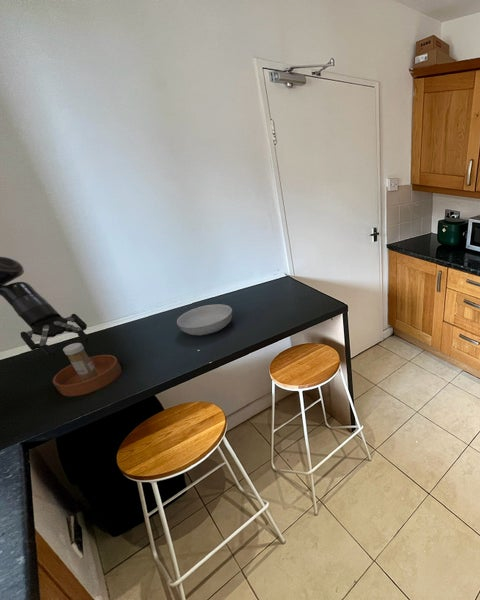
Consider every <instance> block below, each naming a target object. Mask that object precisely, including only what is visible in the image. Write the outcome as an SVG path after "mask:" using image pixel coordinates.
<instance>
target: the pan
mask: <svg viewBox="0 0 480 600" xmlns="http://www.w3.org/2000/svg"><path fill="white" fill-rule="evenodd" d="M88 357H89V359H90V360H91V362H92V364H93V365H94V367H95V369H96V371H97V373H99V375H98V376H96V377H94V378H91V379H89V380H86V381H82V379H81V377H80V376H79V374H78V373H77V372H76V370H75V368H74V367H73V365H72V363H70V364H69V365H66V366H65V367H64V368H62V369H61V370H59V371H58V372H57V373H56V374H55V375H54V376H53V379H52V384H53V385H54V388H55V389H56V390H57V391H58V392H59V394H60V395H62V396H64V397H78V396H83V395H87V394H90V393H93V392H95V391H98V390H101V389H102V388H105V387H106V386H108V385H110V384H111V383H112V382H114V381H115V380H117V379H118V378H119V376H120V375H121V374H122V371H123V368H122V365H120V362H119V360H118V359H117V357H116V356H115V355H112V354H101V355H100V354H99V355H93V356H88Z"/></svg>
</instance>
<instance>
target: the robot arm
mask: <svg viewBox="0 0 480 600" xmlns="http://www.w3.org/2000/svg"><path fill="white" fill-rule="evenodd" d="M24 273H25V267H24V265H23V264H22V263H20V261H18V260H16V259H14V258H10V257H6V256H0V296H1V297H3V299H4V300H5V301H6V302H7V303H8V304H9V305H10V306H11V307H12V309H13V310H14V311H15V313H16V314H17V316H18V317H20V318H21V319H22V321H24V322H25V324H26V325H28V327H30V329H31V330H28V331H21V332H20V334H19V335H20V338H21V340H22V341H23V343H25V344H26V346H27V347H28V348H29V349H30V350H31V351H35V350H42V351H43V353H45V355H47V356H48V357H50V356H51V357H54V356H56V352H55V351H54V350H53V349H52V348H51V346H49V345H48V344H47V342H48V338H54V337H56V336H57V335H58V336H59V335H62V334H64V333H65V332H66V333H74V334H77V336H78V337H79V338H80V339H81V341H82V342H84V343H87V342H88V341H89V335H87V333H86V332H85V330H87V327H88V324H87V323H86V322H85V321H84V320H82V319H81V317H80V316H78V315H77V314H76V313H72V314H71V315H70V316H67V317H63V316H62V315H61V314H60V313H59V312H58V311H57V309H55V307H53V305H52V304H51V303H49V301H48V300H47V299H46V298H44V297H43V296H42V295H41V294H40V293H39V292H38V291H37V290H36V289H35V287H33V286H32V284H30V283H29V282H25V281H16V282H13V281H14V280H16V279H18V278H20V277H22V276H23V274H24ZM8 283H9V284H8ZM68 322H71V323H75V324H76V325H77V326H75V325H73V324H70V323H68ZM33 335H36V336H40V338H39V339H40V340H39V342H37V343H35V341H34V340H33V339H32V338H33Z"/></svg>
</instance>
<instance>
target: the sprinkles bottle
mask: <svg viewBox="0 0 480 600" xmlns="http://www.w3.org/2000/svg"><path fill="white" fill-rule="evenodd" d="M62 352H63V353H64V354H65V356H67V358H68V360H69V362H70V364H72V365H73V367H74V368H75V370H76V372H77V373H78V374H79V376H80V377H81V379H82V381H86V380H89V379H91V378H94V377H96V376H98V375H99V373H97V371H96V369H95V367H94V365H93V364H92V362H91V360H90V359H89V357H90V356H88V354H87V352H86V351H85V346H84V345H83V344H82V343H81V342H74V343H71V344H68V345H66V346H64V347H63V349H62Z"/></svg>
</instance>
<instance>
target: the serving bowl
mask: <svg viewBox="0 0 480 600" xmlns="http://www.w3.org/2000/svg"><path fill="white" fill-rule="evenodd" d="M232 318H233V309H232V307H231V306H229V305H227V304H220V303H216V304H206V305H202V306H198V307H194V308H192V309H190V310H187V311H185V312H184V313H182V314H181V315H180V316H179V317H178V318H177V319H176V325H177V326H178V328H179V329H180V330H181V331H182V332H184V334H185V333H186V334H188V335H191V336H205V335H209V334H214V333H216V332H218V331H220V330H222V329H224V328H225V327H227V326H228V325H229V324H230V322H231V320H232Z"/></svg>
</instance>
